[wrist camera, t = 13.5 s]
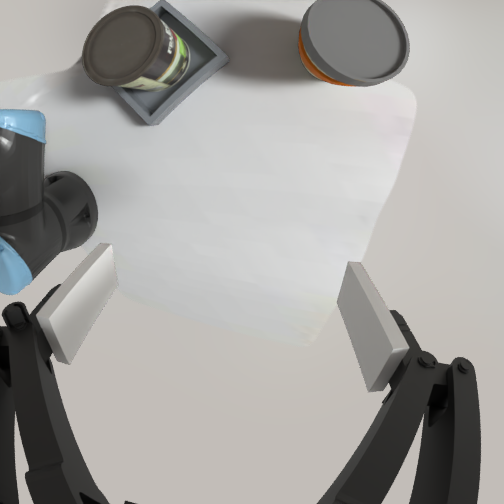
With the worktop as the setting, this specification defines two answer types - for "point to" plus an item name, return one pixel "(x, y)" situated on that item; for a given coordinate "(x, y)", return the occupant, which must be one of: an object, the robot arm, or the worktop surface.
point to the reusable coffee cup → (353, 42)
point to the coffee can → (135, 51)
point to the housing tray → (200, 69)
